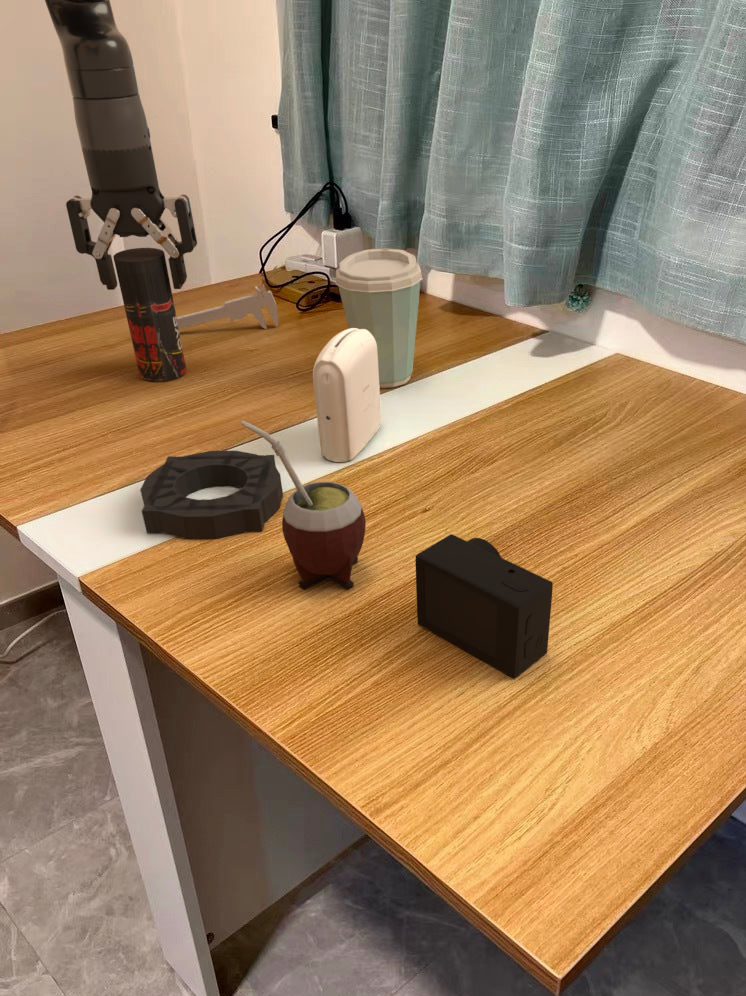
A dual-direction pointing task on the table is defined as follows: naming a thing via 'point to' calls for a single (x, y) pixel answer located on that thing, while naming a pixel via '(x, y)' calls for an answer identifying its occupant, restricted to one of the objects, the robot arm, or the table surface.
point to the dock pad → (214, 516)
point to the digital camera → (483, 603)
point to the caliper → (235, 310)
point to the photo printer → (347, 394)
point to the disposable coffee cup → (383, 306)
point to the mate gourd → (320, 526)
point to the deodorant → (150, 313)
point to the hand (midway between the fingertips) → (146, 287)
